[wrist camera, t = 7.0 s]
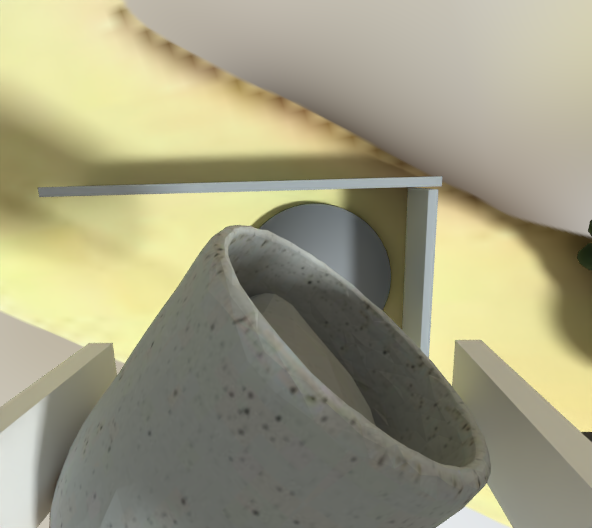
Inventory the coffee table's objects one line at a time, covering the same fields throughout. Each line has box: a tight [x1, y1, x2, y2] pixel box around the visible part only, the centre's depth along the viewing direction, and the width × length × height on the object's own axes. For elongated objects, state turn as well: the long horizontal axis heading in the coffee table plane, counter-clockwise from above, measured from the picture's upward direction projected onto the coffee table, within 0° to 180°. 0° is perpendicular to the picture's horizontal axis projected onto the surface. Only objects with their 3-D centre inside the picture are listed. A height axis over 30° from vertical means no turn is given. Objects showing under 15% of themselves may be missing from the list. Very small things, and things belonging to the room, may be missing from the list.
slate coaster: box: [259, 204, 391, 310], centre depth 30 cm, size 12×12×1 cm
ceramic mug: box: [49, 225, 491, 528], centre depth 10 cm, size 11×8×8 cm
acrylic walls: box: [38, 176, 442, 358], centre depth 28 cm, size 26×15×5 cm, turn 92°
